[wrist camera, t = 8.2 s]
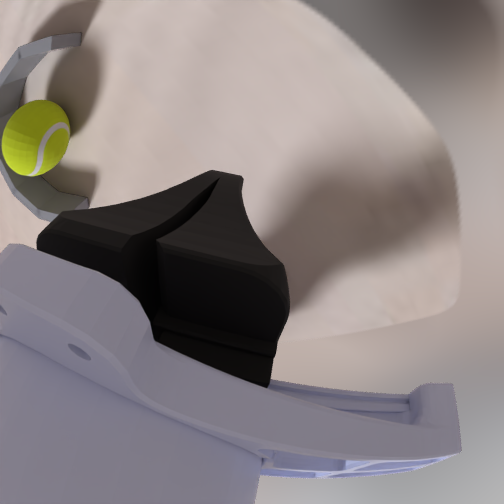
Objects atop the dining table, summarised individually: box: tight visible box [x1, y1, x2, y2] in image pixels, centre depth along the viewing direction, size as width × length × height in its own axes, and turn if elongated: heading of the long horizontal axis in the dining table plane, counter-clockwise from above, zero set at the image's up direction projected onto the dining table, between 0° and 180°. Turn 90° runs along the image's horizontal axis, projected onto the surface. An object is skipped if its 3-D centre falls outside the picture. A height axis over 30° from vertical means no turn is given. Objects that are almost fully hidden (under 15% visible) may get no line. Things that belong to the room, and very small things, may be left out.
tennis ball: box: [2, 100, 70, 176], centre depth 17 cm, size 7×7×7 cm
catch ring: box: [0, 33, 89, 222], centre depth 18 cm, size 17×11×4 cm, turn 171°
